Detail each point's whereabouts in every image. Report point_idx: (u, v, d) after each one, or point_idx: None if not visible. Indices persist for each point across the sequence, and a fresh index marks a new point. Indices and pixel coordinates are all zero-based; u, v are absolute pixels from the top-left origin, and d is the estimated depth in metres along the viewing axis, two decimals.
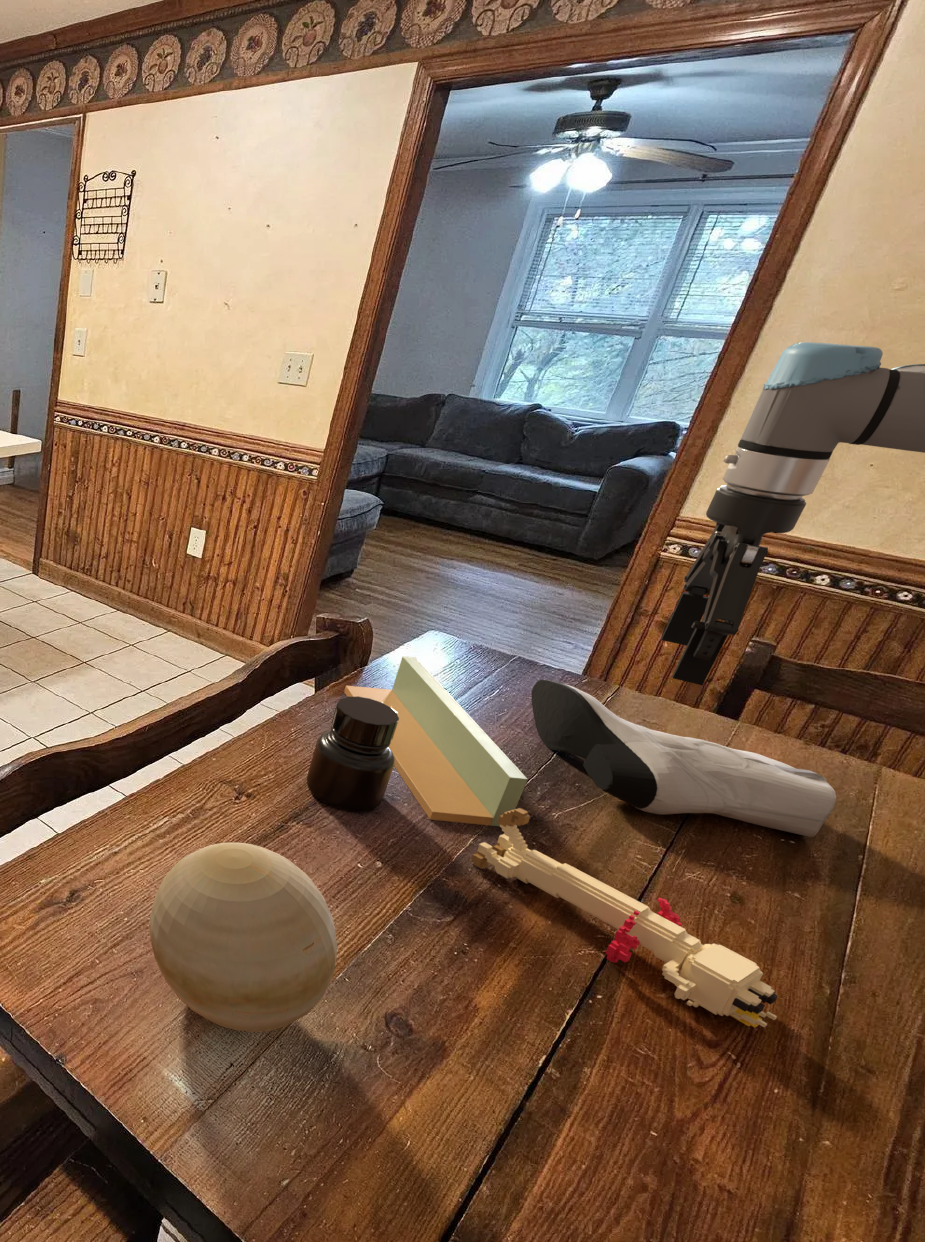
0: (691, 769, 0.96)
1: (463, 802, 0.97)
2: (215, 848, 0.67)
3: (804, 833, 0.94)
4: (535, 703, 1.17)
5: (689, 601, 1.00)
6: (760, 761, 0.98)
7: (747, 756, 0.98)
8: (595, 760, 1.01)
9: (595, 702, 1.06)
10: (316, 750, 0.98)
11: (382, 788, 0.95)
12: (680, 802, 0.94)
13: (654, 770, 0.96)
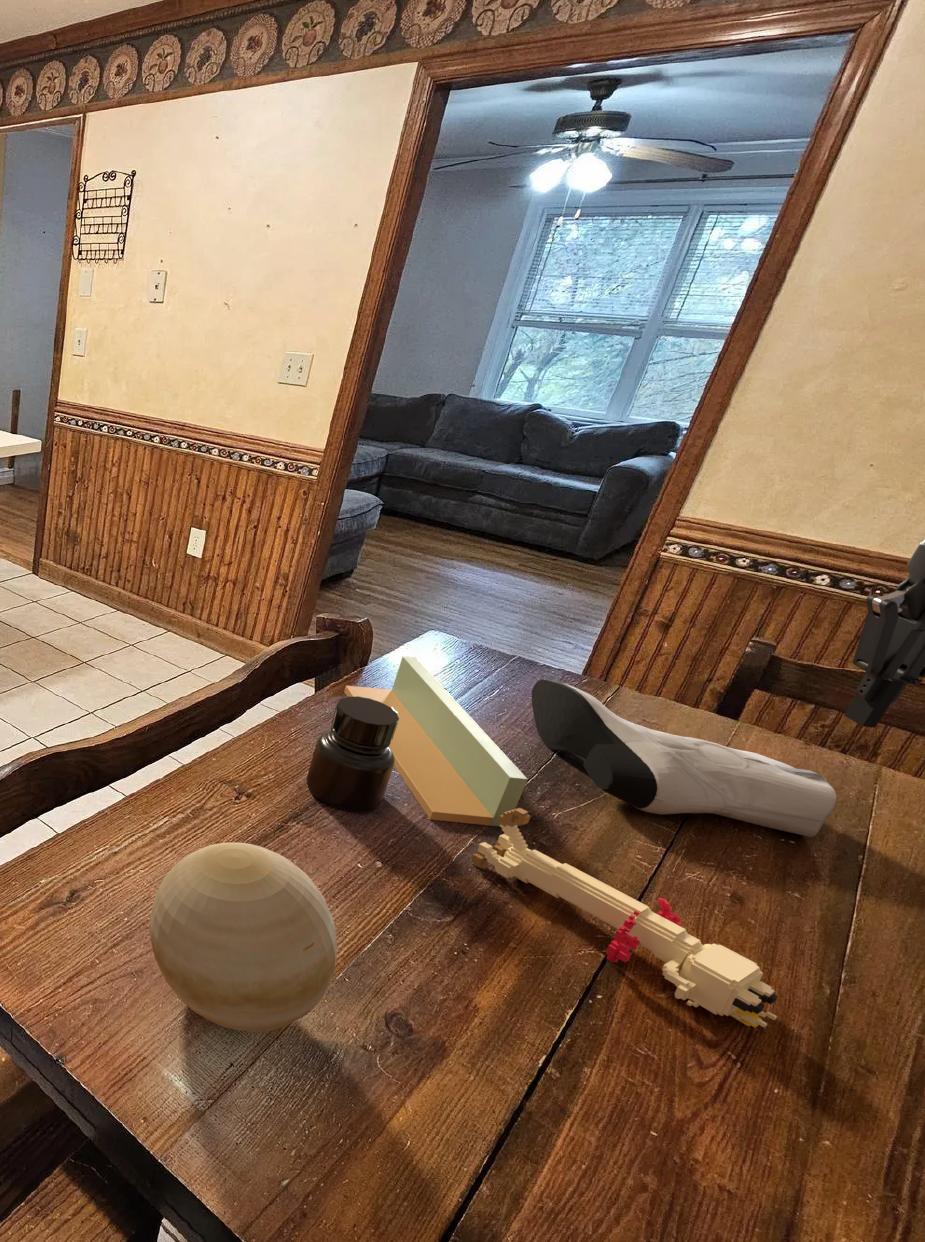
0: (691, 769, 0.96)
1: (463, 802, 0.97)
2: (215, 848, 0.67)
3: (804, 833, 0.94)
4: (535, 703, 1.17)
5: None
6: (760, 761, 0.98)
7: (747, 756, 0.98)
8: (595, 760, 1.01)
9: (596, 702, 1.06)
10: (316, 750, 0.98)
11: (382, 788, 0.95)
12: (680, 802, 0.94)
13: (654, 770, 0.96)
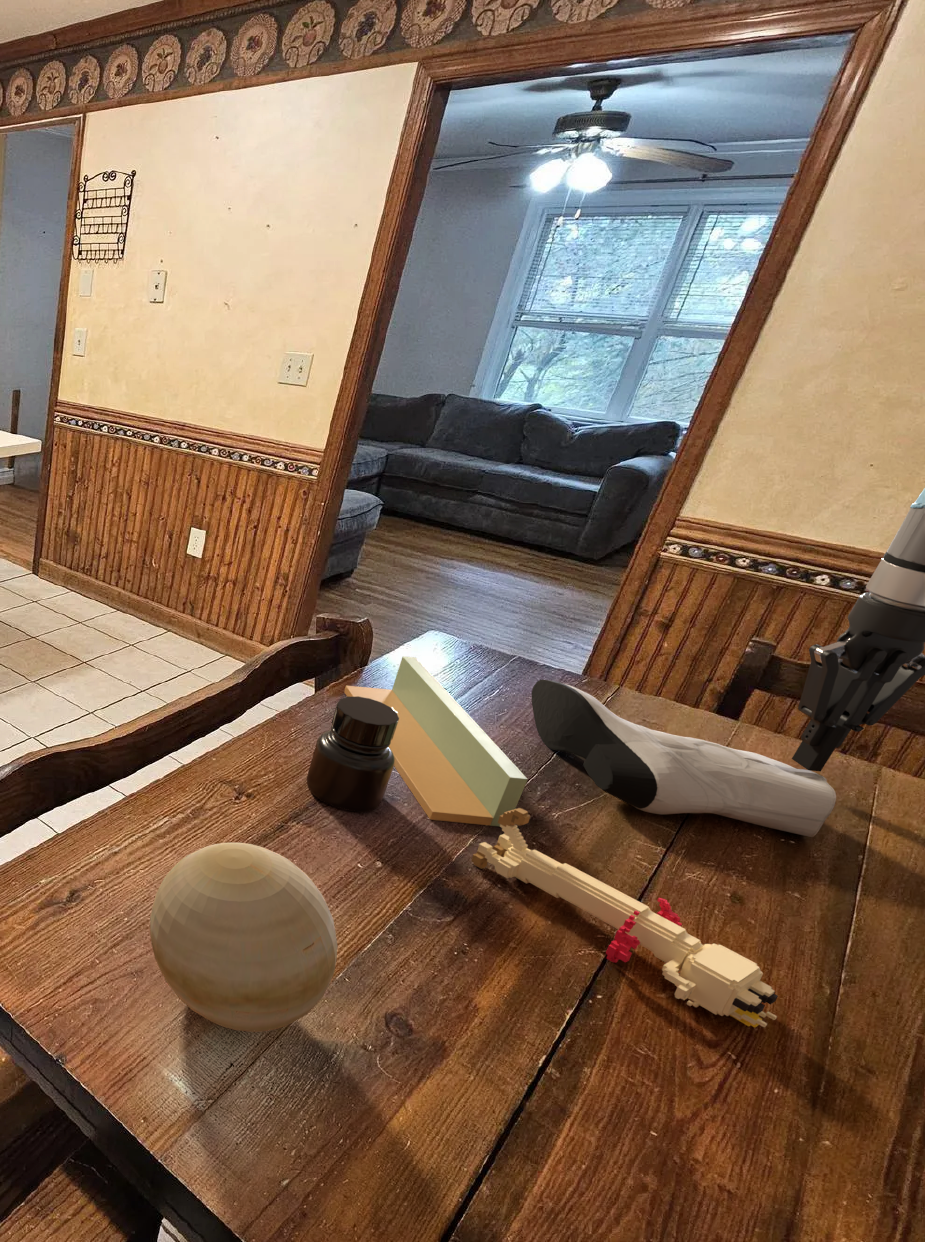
0: (691, 769, 0.96)
1: (463, 802, 0.97)
2: (215, 848, 0.67)
3: (804, 833, 0.94)
4: (535, 703, 1.17)
5: None
6: (760, 761, 0.98)
7: (747, 756, 0.98)
8: (595, 760, 1.01)
9: (596, 702, 1.06)
10: (316, 750, 0.98)
11: (382, 788, 0.95)
12: (680, 802, 0.94)
13: (654, 770, 0.96)
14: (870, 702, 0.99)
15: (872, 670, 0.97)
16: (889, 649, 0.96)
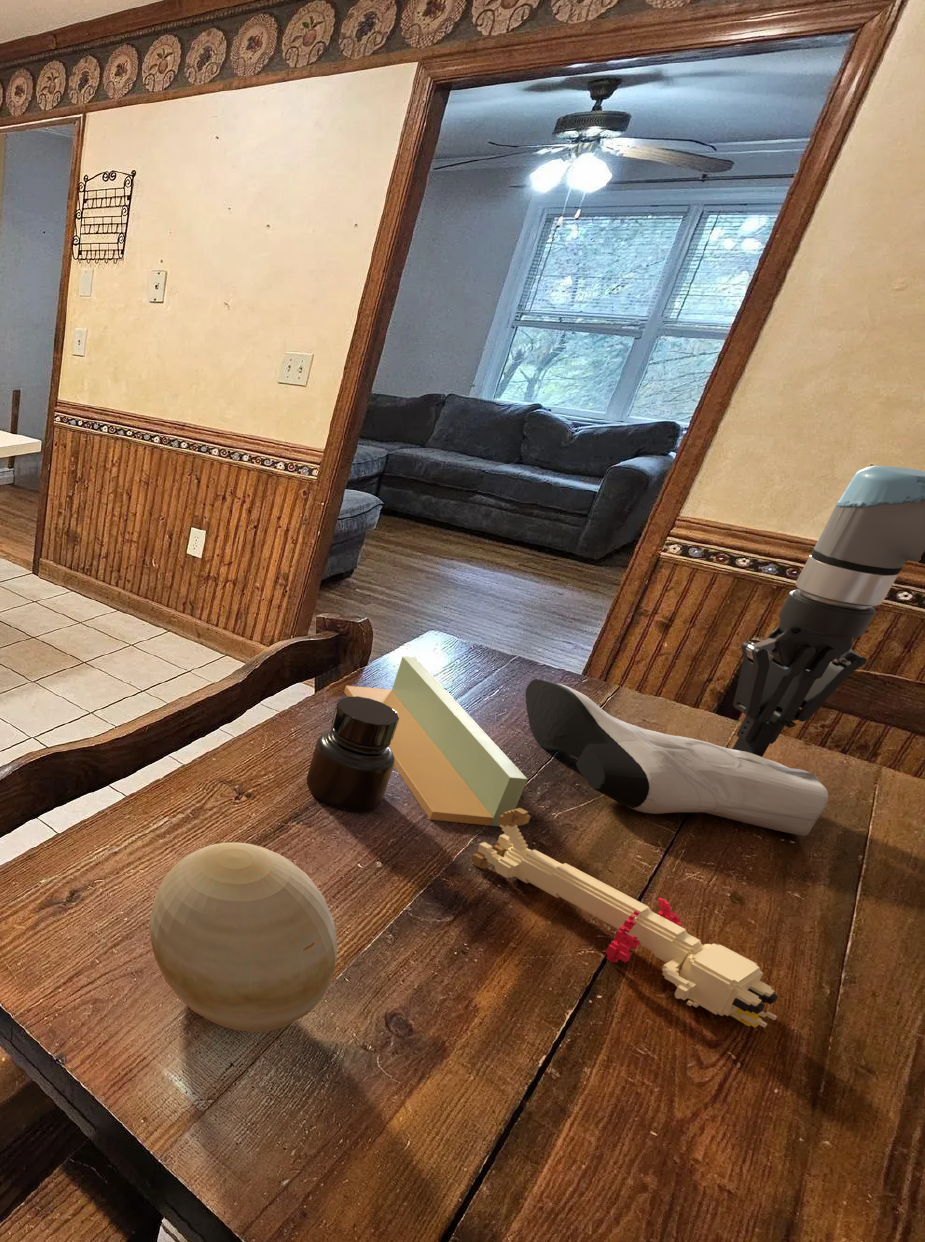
0: (684, 769, 0.96)
1: (463, 802, 0.97)
2: (215, 848, 0.67)
3: (796, 832, 0.94)
4: (529, 702, 1.17)
5: None
6: (753, 760, 0.98)
7: (740, 755, 0.98)
8: (588, 759, 1.01)
9: (588, 701, 1.06)
10: (316, 750, 0.98)
11: (382, 788, 0.95)
12: (672, 801, 0.94)
13: (646, 769, 0.96)
14: (802, 698, 1.00)
15: (802, 666, 0.97)
16: (818, 645, 0.97)
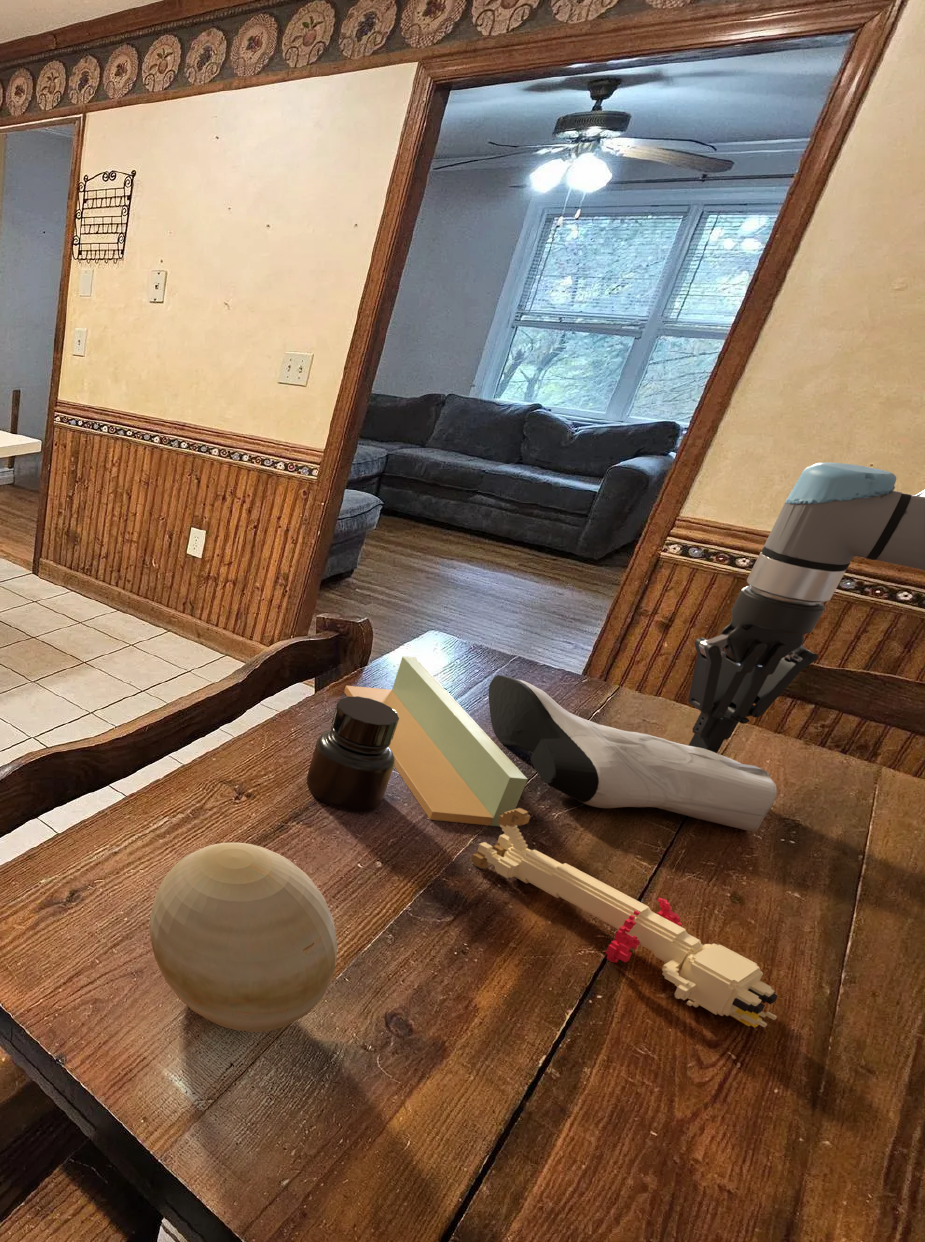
0: (634, 764, 0.97)
1: (463, 802, 0.97)
2: (215, 848, 0.67)
3: (746, 828, 0.95)
4: (491, 699, 1.18)
5: None
6: (705, 756, 0.98)
7: (692, 751, 0.99)
8: (541, 754, 1.01)
9: (545, 697, 1.07)
10: (316, 750, 0.98)
11: (382, 788, 0.95)
12: (621, 796, 0.95)
13: (596, 764, 0.96)
14: (755, 694, 1.00)
15: (754, 662, 0.98)
16: (770, 641, 0.97)
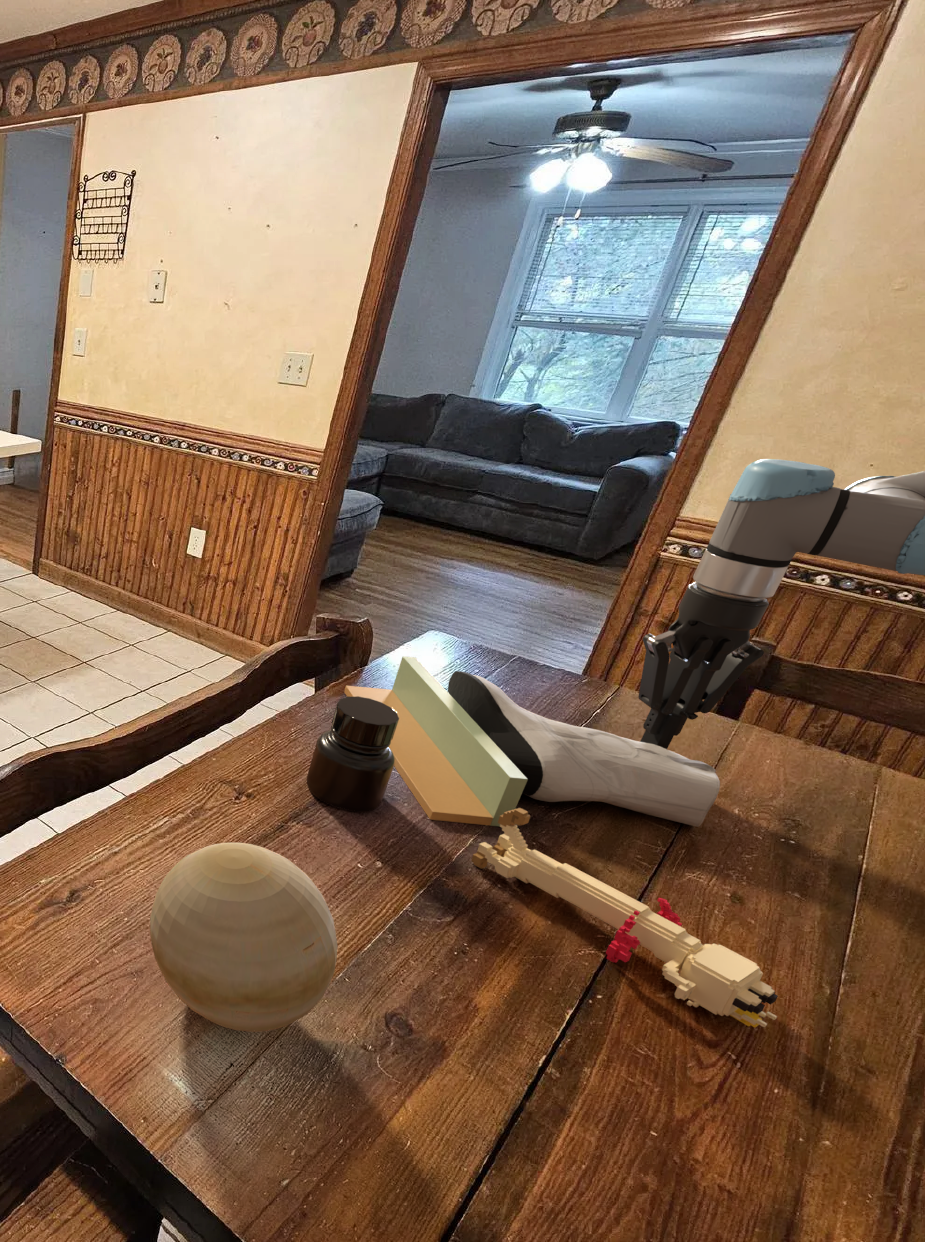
0: (580, 758, 0.97)
1: (463, 802, 0.97)
2: (215, 848, 0.67)
3: (690, 823, 0.95)
4: None
5: None
6: (652, 751, 0.99)
7: (639, 746, 0.99)
8: None
9: (498, 692, 1.07)
10: (316, 750, 0.98)
11: (382, 788, 0.95)
12: (565, 789, 0.96)
13: (541, 758, 0.97)
14: (703, 690, 1.00)
15: (701, 658, 0.98)
16: (716, 638, 0.97)
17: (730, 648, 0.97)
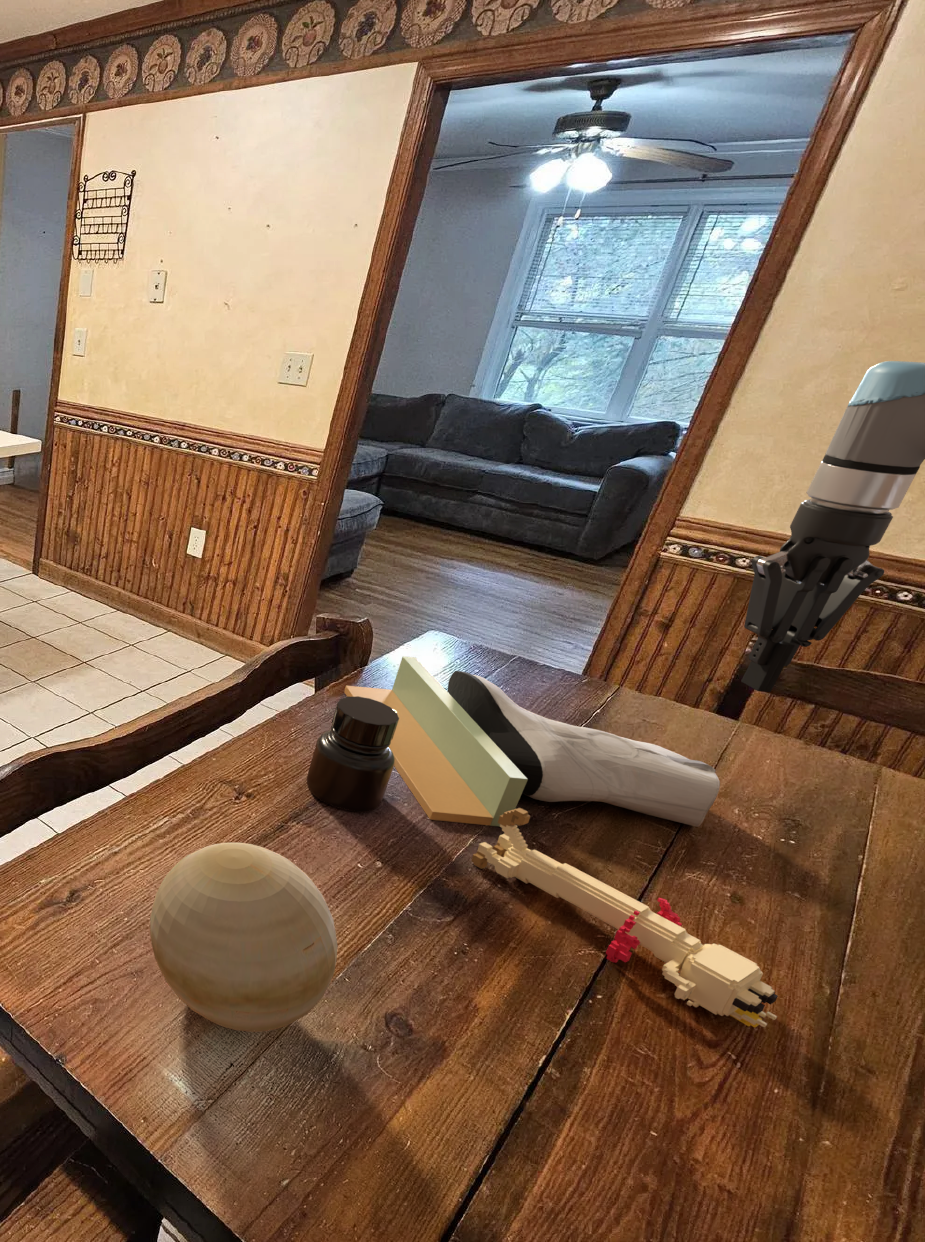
0: (580, 758, 0.97)
1: (463, 802, 0.97)
2: (215, 848, 0.67)
3: (690, 823, 0.95)
4: None
5: None
6: (652, 751, 0.98)
7: (639, 746, 0.99)
8: None
9: (497, 692, 1.07)
10: (316, 750, 0.98)
11: (382, 788, 0.95)
12: (565, 789, 0.96)
13: (541, 758, 0.97)
14: (817, 615, 0.95)
15: (816, 579, 0.93)
16: (833, 556, 0.92)
17: (849, 567, 0.91)
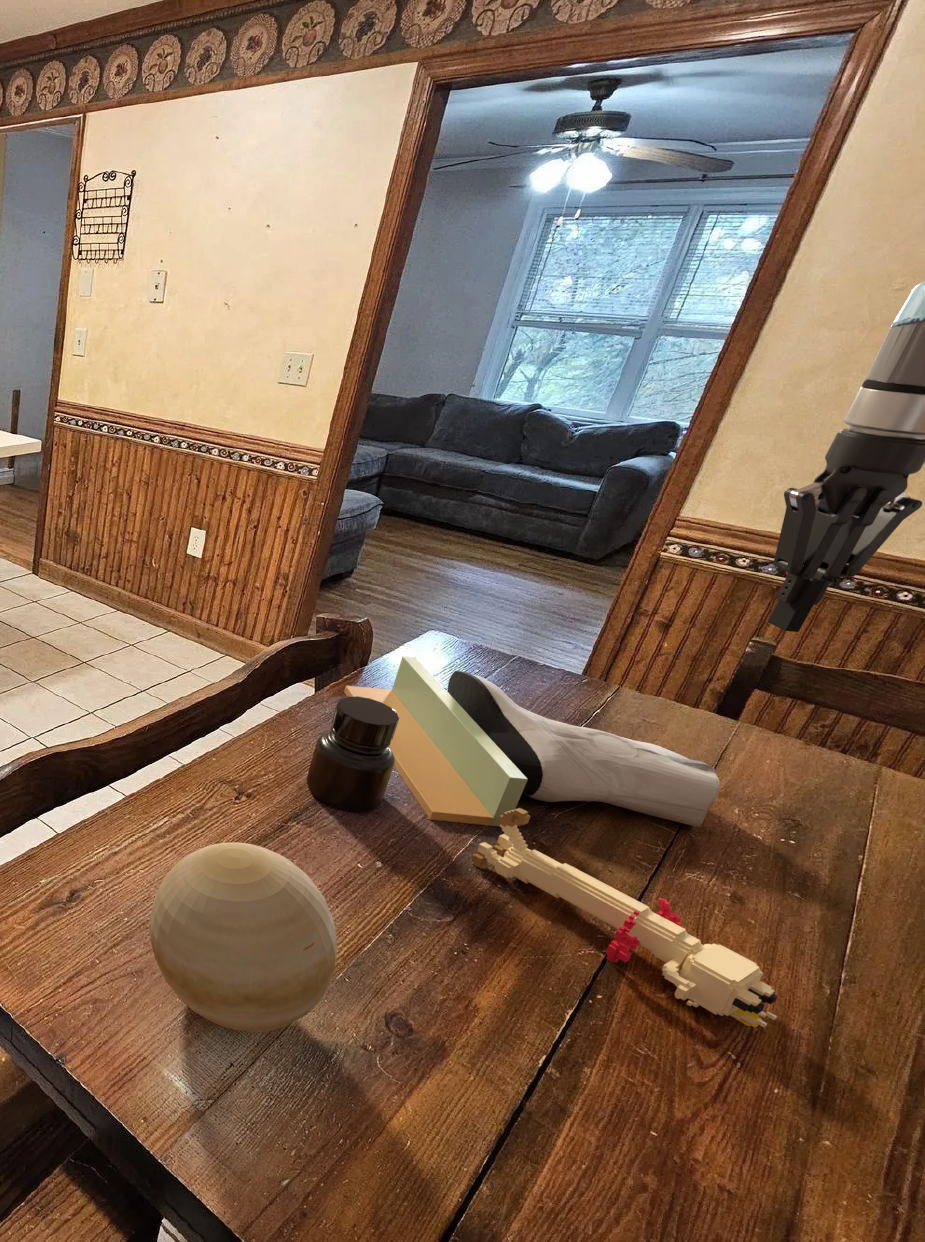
0: (580, 758, 0.97)
1: (463, 802, 0.97)
2: (215, 848, 0.67)
3: (690, 823, 0.95)
4: None
5: None
6: (652, 751, 0.98)
7: (639, 746, 0.99)
8: None
9: (497, 692, 1.07)
10: (316, 750, 0.98)
11: (382, 788, 0.95)
12: (565, 789, 0.96)
13: (541, 758, 0.97)
14: (850, 550, 0.91)
15: (852, 511, 0.89)
16: (870, 487, 0.88)
17: (886, 498, 0.88)
